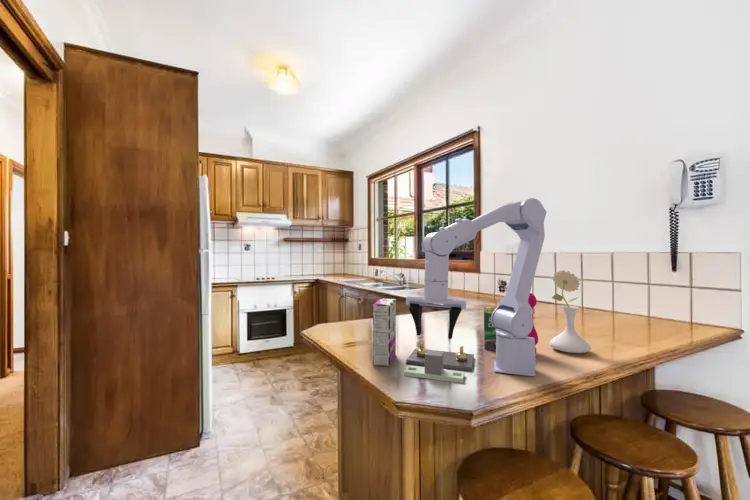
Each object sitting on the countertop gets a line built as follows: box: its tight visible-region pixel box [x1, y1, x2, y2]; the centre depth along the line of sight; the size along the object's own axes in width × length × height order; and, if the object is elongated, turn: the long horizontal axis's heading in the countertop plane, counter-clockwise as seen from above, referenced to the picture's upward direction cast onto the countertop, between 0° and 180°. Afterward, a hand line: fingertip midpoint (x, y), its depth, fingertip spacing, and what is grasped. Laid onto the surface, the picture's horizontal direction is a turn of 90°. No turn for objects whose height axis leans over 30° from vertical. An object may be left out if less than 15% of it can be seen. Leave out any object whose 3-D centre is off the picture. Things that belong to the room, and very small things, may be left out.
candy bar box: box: [372, 298, 397, 367], centre depth 98 cm, size 11×5×16 cm, turn 168°
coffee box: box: [483, 306, 496, 352], centre depth 109 cm, size 8×3×13 cm, turn 61°
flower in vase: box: [549, 269, 592, 354], centre depth 110 cm, size 13×11×25 cm
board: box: [403, 349, 465, 384], centre depth 86 cm, size 14×5×6 cm, turn 72°
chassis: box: [405, 341, 475, 372], centre depth 98 cm, size 17×12×4 cm
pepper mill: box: [528, 292, 539, 356], centre depth 107 cm, size 7×7×20 cm
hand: (434, 336), depth 86 cm, fingers open, 7 cm apart
